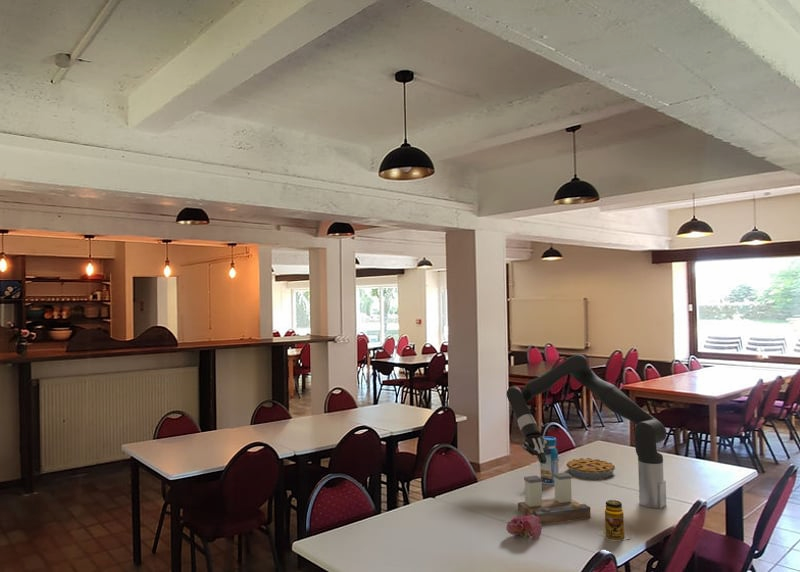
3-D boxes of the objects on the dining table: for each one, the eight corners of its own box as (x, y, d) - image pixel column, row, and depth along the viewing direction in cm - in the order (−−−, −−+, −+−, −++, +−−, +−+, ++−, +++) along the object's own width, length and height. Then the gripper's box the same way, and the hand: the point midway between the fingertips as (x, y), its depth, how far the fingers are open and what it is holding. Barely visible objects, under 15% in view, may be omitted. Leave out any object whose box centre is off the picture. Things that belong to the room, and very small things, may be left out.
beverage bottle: (561, 485, 257) (560, 440, 258) (542, 485, 257) (541, 440, 258) (556, 479, 266) (555, 435, 266) (538, 479, 266) (537, 435, 266)
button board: (517, 510, 227) (517, 498, 227) (567, 504, 233) (566, 492, 233) (538, 525, 212) (538, 512, 212) (590, 517, 218) (590, 505, 218)
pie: (557, 470, 281) (557, 460, 281) (591, 464, 290) (591, 454, 290) (589, 482, 261) (589, 471, 261) (625, 475, 270) (625, 465, 270)
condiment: (612, 542, 196) (611, 506, 196) (597, 533, 204) (596, 498, 204) (630, 539, 198) (629, 503, 198) (614, 530, 206) (613, 496, 206)
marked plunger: (554, 499, 229) (553, 473, 229) (566, 498, 231) (565, 472, 231) (560, 503, 225) (559, 476, 225) (572, 501, 226) (571, 475, 227)
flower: (511, 542, 205) (520, 514, 209) (537, 552, 199) (545, 523, 203) (499, 532, 197) (508, 504, 202) (526, 542, 191) (535, 512, 196)
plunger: (524, 503, 226) (524, 476, 226) (537, 501, 227) (536, 475, 227) (530, 507, 221) (529, 480, 222) (542, 505, 223) (542, 478, 223)
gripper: (539, 430, 258) (554, 465, 245) (512, 433, 254) (526, 469, 242) (545, 421, 253) (561, 456, 240) (517, 423, 249) (532, 459, 237)
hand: (543, 462), depth 241 cm, fingers closed
